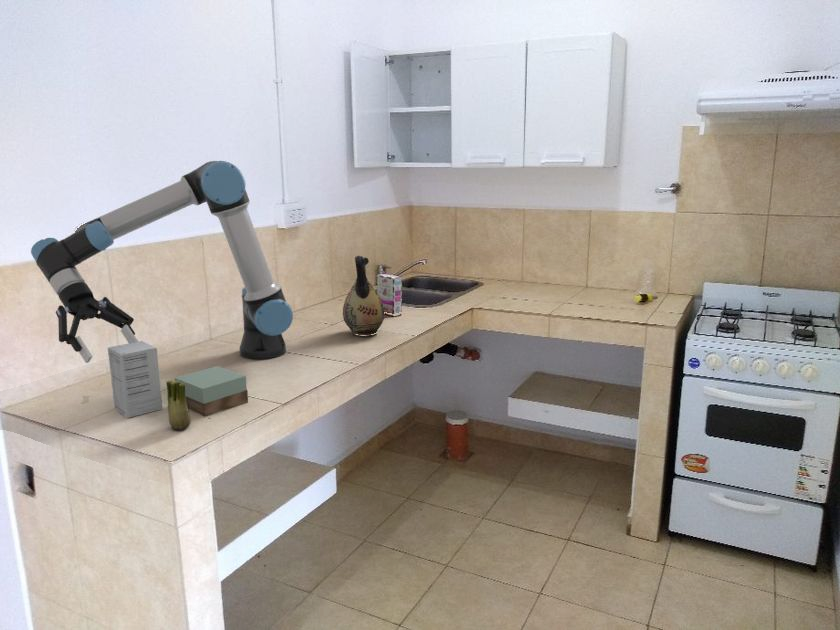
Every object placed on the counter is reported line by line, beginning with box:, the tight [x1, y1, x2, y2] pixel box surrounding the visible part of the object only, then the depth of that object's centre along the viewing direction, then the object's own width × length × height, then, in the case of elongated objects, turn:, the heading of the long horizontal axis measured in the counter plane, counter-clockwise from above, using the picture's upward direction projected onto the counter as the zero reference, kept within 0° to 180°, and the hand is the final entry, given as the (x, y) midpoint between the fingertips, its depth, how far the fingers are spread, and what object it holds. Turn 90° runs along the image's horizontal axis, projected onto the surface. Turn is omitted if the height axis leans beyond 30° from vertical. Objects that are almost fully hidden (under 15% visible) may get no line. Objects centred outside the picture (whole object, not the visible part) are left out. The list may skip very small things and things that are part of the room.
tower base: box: [186, 389, 249, 417], centre depth 173 cm, size 13×13×4 cm
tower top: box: [174, 365, 248, 404], centre depth 172 cm, size 13×13×4 cm
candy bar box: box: [376, 273, 403, 314], centre depth 271 cm, size 11×5×16 cm, turn 43°
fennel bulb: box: [165, 380, 192, 431], centre depth 156 cm, size 6×5×12 cm
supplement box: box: [107, 340, 163, 419], centre depth 167 cm, size 10×9×17 cm
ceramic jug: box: [342, 255, 385, 335], centre depth 238 cm, size 17×15×30 cm
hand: (113, 353), depth 168 cm, fingers open, 13 cm apart
